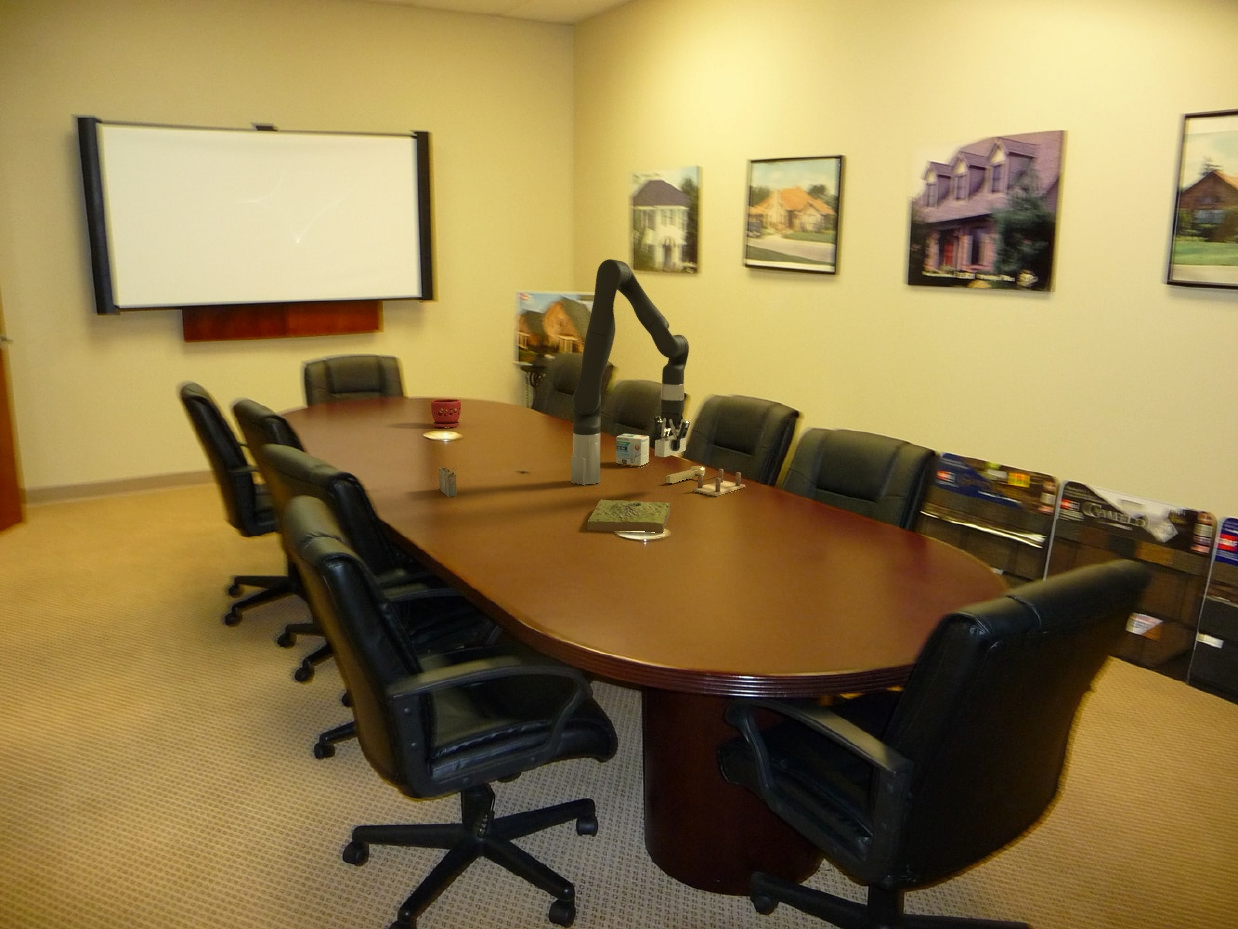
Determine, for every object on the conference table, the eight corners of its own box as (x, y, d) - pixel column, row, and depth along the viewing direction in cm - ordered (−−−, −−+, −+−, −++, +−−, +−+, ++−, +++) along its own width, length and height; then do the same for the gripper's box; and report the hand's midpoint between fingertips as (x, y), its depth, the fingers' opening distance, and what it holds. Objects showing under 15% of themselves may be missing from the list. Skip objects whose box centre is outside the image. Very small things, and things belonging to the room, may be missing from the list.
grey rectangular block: (664, 457, 310) (664, 441, 309) (654, 455, 312) (655, 440, 311) (685, 450, 322) (686, 435, 321) (676, 448, 324) (677, 434, 323)
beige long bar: (673, 484, 328) (674, 476, 327) (662, 482, 331) (662, 473, 331) (707, 475, 341) (708, 467, 341) (696, 473, 345) (696, 465, 344)
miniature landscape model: (586, 532, 276) (586, 515, 275) (600, 510, 299) (600, 494, 298) (663, 535, 273) (663, 518, 272) (670, 513, 296) (671, 497, 295)
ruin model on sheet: (457, 497, 313) (457, 468, 311) (448, 498, 311) (447, 469, 309) (448, 489, 323) (447, 461, 321) (439, 490, 321) (438, 461, 319)
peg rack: (715, 497, 314) (716, 480, 313) (692, 491, 320) (692, 475, 319) (745, 488, 325) (745, 472, 324) (722, 483, 332) (722, 467, 330)
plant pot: (466, 427, 432) (465, 401, 429) (438, 430, 425) (437, 403, 422) (454, 423, 442) (453, 397, 440) (427, 425, 436) (426, 399, 433)
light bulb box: (615, 464, 360) (615, 436, 358) (623, 461, 366) (624, 433, 363) (641, 467, 355) (641, 438, 353) (649, 464, 361) (649, 435, 359)
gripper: (648, 396, 315) (646, 447, 319) (681, 401, 306) (680, 454, 309) (663, 393, 321) (661, 445, 324) (696, 399, 311) (694, 451, 315)
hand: (670, 449), depth 317 cm, fingers closed on grey rectangular block, 4 cm apart
